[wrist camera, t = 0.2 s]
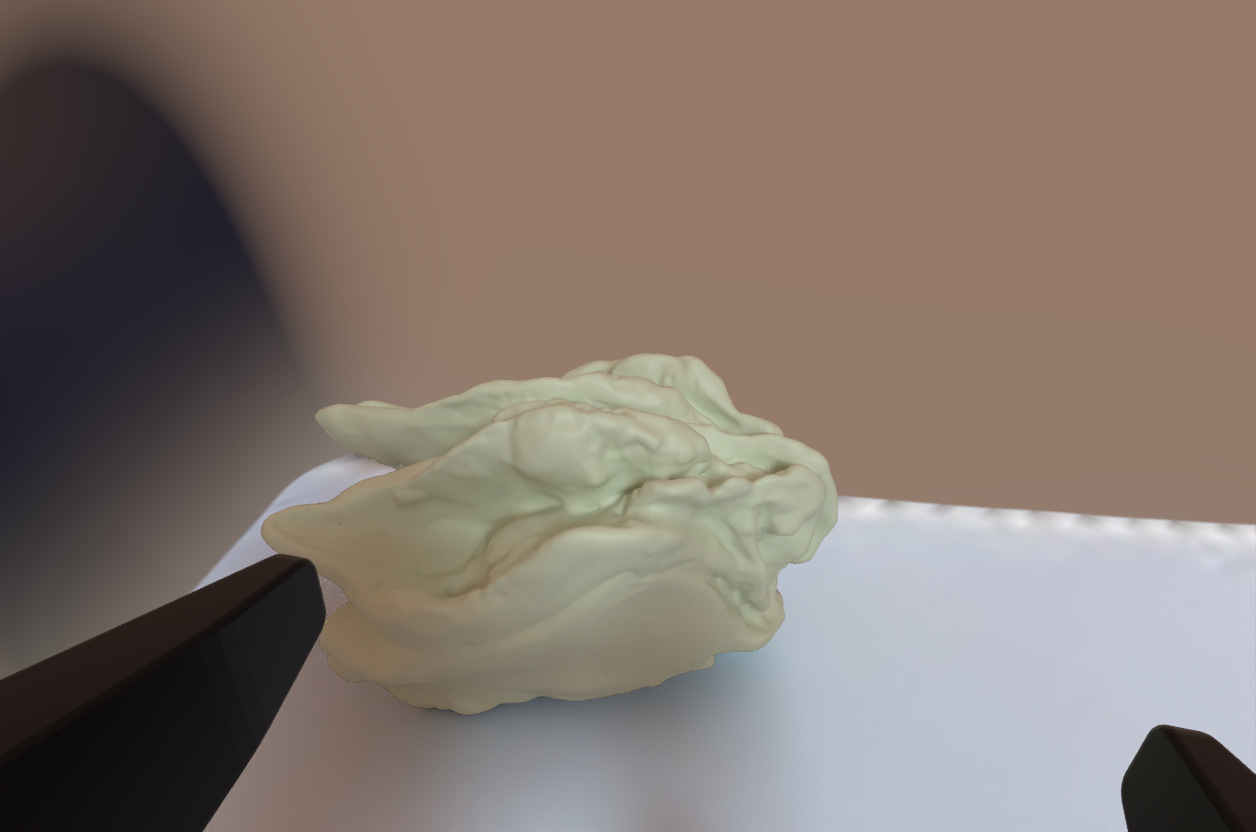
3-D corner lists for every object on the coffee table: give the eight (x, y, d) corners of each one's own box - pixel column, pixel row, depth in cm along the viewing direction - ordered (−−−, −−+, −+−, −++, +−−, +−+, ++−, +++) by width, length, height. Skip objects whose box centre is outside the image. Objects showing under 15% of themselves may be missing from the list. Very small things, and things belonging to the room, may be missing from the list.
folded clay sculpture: (456, 797, 30) (153, 611, 21) (531, 543, 39) (343, 332, 30) (900, 807, 23) (744, 527, 13) (867, 491, 32) (760, 191, 22)
